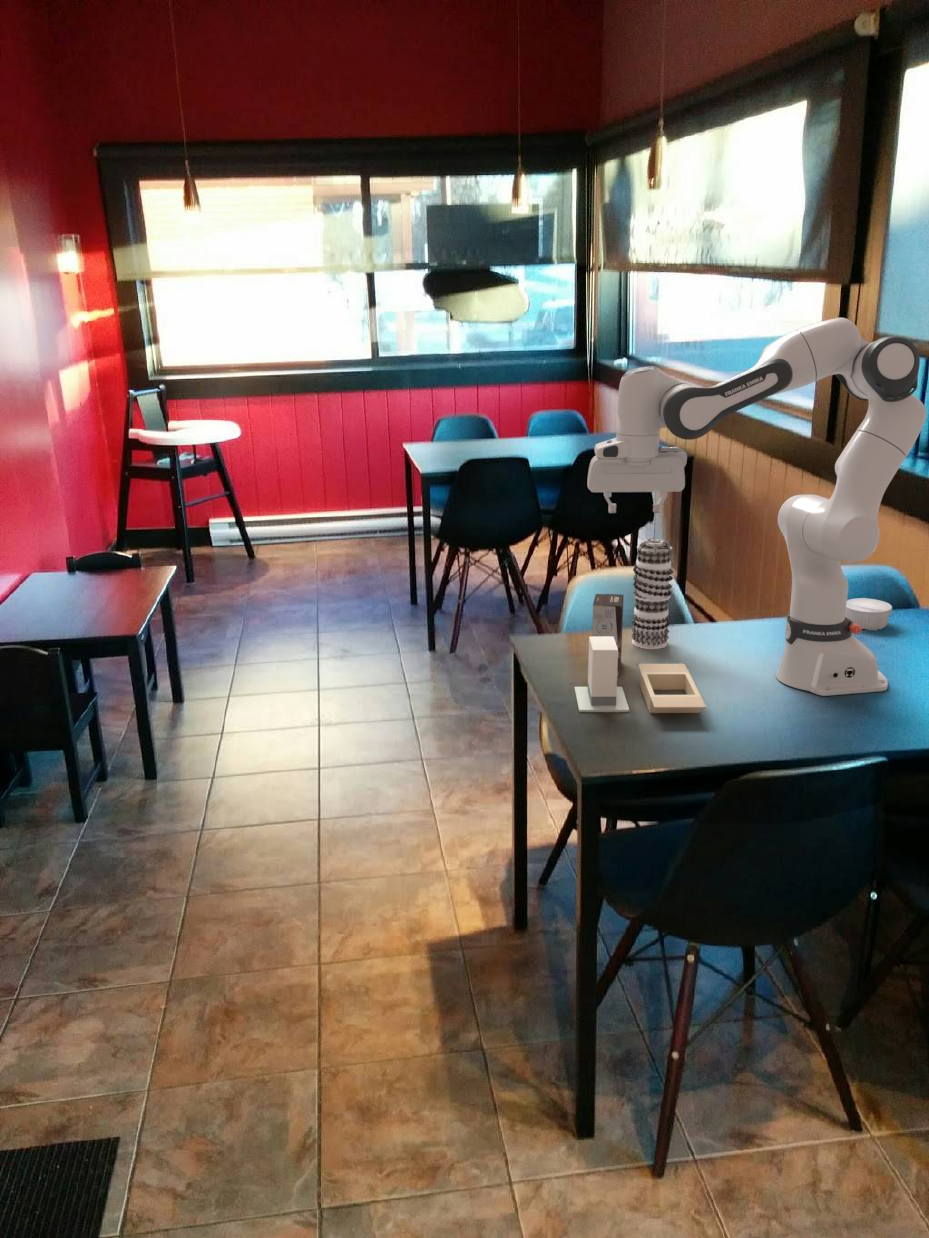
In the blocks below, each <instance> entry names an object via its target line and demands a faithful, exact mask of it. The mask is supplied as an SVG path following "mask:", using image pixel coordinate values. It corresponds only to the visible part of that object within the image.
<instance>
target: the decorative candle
mask: <svg viewBox="0 0 929 1238" xmlns="http://www.w3.org/2000/svg"><path fill="white" fill-rule="evenodd" d="M636 549H637V557H636V558H637V559H636V561H635V563H634V564H633V566H634V567H633V570H632V571H633V573H634V575H633V580H634V582H633V584H632V585H633V589H634V590H633V597H634V598H635V606H634V610H633V612H634V613H633V615H632V618H633V619H632V624H633V626H632V628H631V631H632V634H631V638H632V640H631V643H632V645H633V644H634V645H635V647H636V648H639V647H640V649H643V648H644V650H660V648H661V649H663V648H666V647H668V645H669V642H668V639H669V635H668V634H669V632H670V629H669V626H670V623H669V620H670V617H671V616H669V606H668V605H669V599H670V598H671V595H672V591H671V588H672V587H673V586H672V584H670V582H671V581H672V580H673V579H674V577H673V576H672V574H673V573H674V570H673V569H672V568H671V567H672V559H671V556H672V550H673V546H671V545H670V544H669V542H668V541H667V540H665V539H661V538H646V539H643V540H642V541H641V542H640V544H638V545H637V546H636ZM667 644H668V645H667ZM634 645H633V646H634ZM637 646H638V647H637Z"/></svg>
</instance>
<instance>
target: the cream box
mask: <svg viewBox="0 0 929 1238" xmlns="http://www.w3.org/2000/svg"><path fill="white" fill-rule="evenodd" d="M587 663H588V664H587V666H588V667H587V687H588V694H589V698H590V703H591V706H616V694H617V687H618V676H617V668H618V648H617V645H616V642H615V639H614V636H592V635H591V636H588V662H587Z"/></svg>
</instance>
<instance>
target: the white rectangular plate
mask: <svg viewBox="0 0 929 1238" xmlns="http://www.w3.org/2000/svg"><path fill="white" fill-rule="evenodd" d="M573 688H574V693H575V697H576V703H577V707H578V708H577V709H578V713H629V712H630V707H629V704H628V702H627V698H626V694H625V691H624V689H623V687H622V686H617V694H616V706H591V703H590V698H589V694H588V686H574V687H573Z"/></svg>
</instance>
